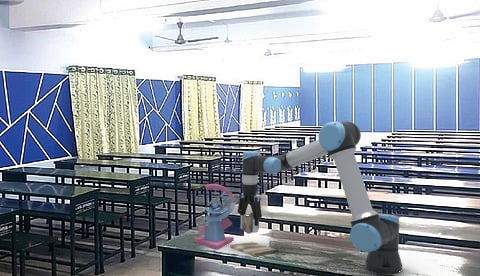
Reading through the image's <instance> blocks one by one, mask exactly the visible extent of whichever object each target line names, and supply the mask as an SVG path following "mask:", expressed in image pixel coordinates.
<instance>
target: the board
mask: <svg viewBox="0 0 480 276" xmlns="http://www.w3.org/2000/svg"><path fill="white" fill-rule="evenodd" d="M229 248H230V249H233V250H237V251H239V252H242V253H244V254H247V255H249V256H252V257H255V258H256V257H261V256H266V255H271V254H278V253H279V250H278V249H276V248H273V247H270V246H267V245H263V244H261V243H258V242H255V241H252V240H251V241H246V242H240V243H235V244H231V245H229Z"/></svg>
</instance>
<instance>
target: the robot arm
mask: <svg viewBox="0 0 480 276" xmlns="http://www.w3.org/2000/svg"><path fill="white" fill-rule="evenodd" d="M361 137H362V134H361V130H360V128H359V126H358V125H357V124H355V123H354V122H351V121H336V120H334V121H331V122H330V121H329V122H327V123H325V124H324V125H322V127H321V128H320V130H319V133H318V139H317V140H314V141H312V142H309V143H307V144H305V145H303V146H300V147H298V148H296V149H293V150H291V151H288V152H286V153H284V154H281V155H272V156H260V155H259V152H258V151H256V150H254V151H253V150H246V151H243V153H242V159H241V162H242V165H241V166H242V172H241V173H242V174H241V176H242V177H241V182H242V184H241V191H242V193H239V195H238V197H239V198H238V199H239V200H238V205H237V214H239V216H240V220H239V221H240V229H241V230H243V228H242V223H243V221H244V219H245V218H247V209H248V207H249V206H250V209H251V211H252V212H251V213H253V217H254V218H253V222H252V233H254V234H255V233H258V231H259V230H258V220H259V221H260V219H262V217H263V215H262V206H261V196H257V192H258V191H259V190H258V189H259V187H258V186H259V184H258V183H259V182H258V181H259V173H265V174H269V175H272V174H274V175H275V174H278V173H279V172H288V171H291V170H292V169H294V168H296V167H298V166H300V165H302V164H303V165H304V164H305V163H308V162H310V161H313V160H316V159H317V158H318V159H319V158H320V157H323V156H326V155H328V157H329V158H330V159H332V160H333V161H334V164H335V167H336V170H337V173H338V176H339V179H340V182H341V185H342V189H343V191H344V195H345V197H346V201H347V204H348V207H349V211H350V213H351V218H350V220H349V223H350V225H351V229H350V232H349V238H350V241H351V243H352V245H353V246H354V248H356V250H359V251H360V252H364V253H367V256H366V260H365V262H364V264H365V265H364V268H365V269H366V270H368V271H371V272H373V273H379V274H386V273H393V274H397V273H396V272H399V271H401V270H402V271H403V263H402V259H401V256H400V252H399V243H400V242H399V240H400V239H399V238H400V226H401V225H400V219H399V216H397V215H394V214H388V213H379V212H377V211H375V210H374V209H373V207H372V203H371V200H370V198H369V194H368V191H367V188H366V185H365V182H364V180H363V176H362V173H361V170H360V167H359V164H358V160H357V159H356V155H355V152H356V150H357V145H358V144H359V142H360V140H361ZM252 233H251V234H252ZM402 271H401V272H402ZM399 273H400V272H399Z"/></svg>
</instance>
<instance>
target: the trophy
mask: <svg viewBox="0 0 480 276" xmlns="http://www.w3.org/2000/svg"><path fill="white" fill-rule="evenodd" d="M204 187H205V190H206V193H207V194H208V195H210V192H209V190H214V195H217V190H219V191H221V194H220V195H219V197H220V198H221V199H223V200H224V201H225V206H222V204H223V203H222V201H221V200H219V199H218V198H217V199H216V198H213V199H212V200H210V201H209V203H208V205H212V207H211V206H209V207H206V206H205V207H204V210H205V211H206V212H207V213H209V215H208V214H205V218H204V219H205V220H204V221H207V222H208V224H207V225H198V231H197V237H196V236H195V237H194V238H193V242H194V243H195V242H196V244H199V245H201V246H204V247H206V248H210V249H212V250H215V251H216V250H218V251H219V250H220V249H222V248H224V247H226V246H228V245H229V244H231V243H233V242H234V240H235V237H234V236H226V235H225V232H224V230H227V229H228V228H229V227H230V226H232V225H233V222H232V221H231V220H230V219H229V218H228V216H230V215H231V213H232V212H233V211H234V208H235V207H236V204H237V203H236V197H235V196H234V194H233V193H232V192H231V191H230V189H228V187H227V188H226V187H225V186H223V185H220V184H215V183H211V184H210V183H209V184H204ZM225 194H226V195H227V196H228V197H225ZM229 200H230V202H231V204H229V206H228V201H229ZM217 202H218V204H219V205H218V204H217ZM218 207H219V208H218ZM226 207H228V208H226ZM210 214H211V215H210ZM198 236H199V237H198ZM200 236H202V237H200ZM232 241H233V242H232ZM227 244H228V245H227ZM225 245H226V246H225Z"/></svg>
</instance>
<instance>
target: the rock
mask: <svg viewBox="0 0 480 276" xmlns="http://www.w3.org/2000/svg"><path fill="white" fill-rule="evenodd" d="M253 218H254V217H253V213H252V212H250V213H249V215H247V216H246V218H245V219H244V221H243V223H242V228H243V229H242V231H243V232H244V233H246V234H252V222H253ZM259 229H260V219H259V220H258V231H259Z"/></svg>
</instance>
